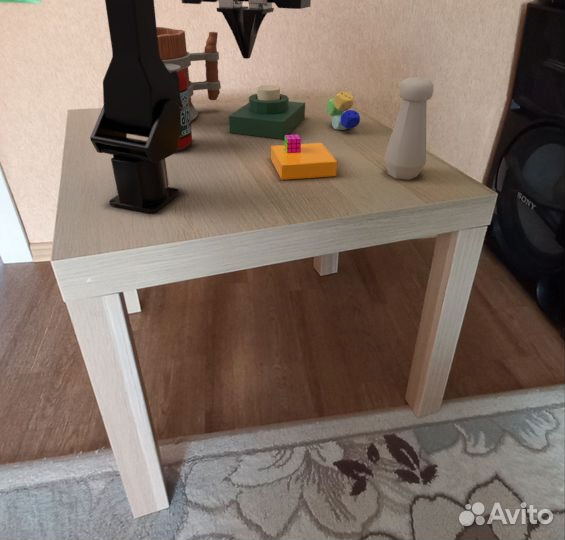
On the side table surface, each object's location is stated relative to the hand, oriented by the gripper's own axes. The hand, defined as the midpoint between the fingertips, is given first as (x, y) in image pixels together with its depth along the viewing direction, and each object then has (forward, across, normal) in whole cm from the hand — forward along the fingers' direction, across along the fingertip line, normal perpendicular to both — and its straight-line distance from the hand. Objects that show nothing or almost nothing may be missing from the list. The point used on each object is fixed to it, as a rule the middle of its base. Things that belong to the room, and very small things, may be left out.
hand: (246, 58), depth 74 cm
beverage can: (+13, +10, +9) cm, 18 cm away
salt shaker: (+13, -27, +8) cm, 31 cm away
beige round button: (+8, -1, -7) cm, 11 cm away
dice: (+12, -14, -10) cm, 22 cm away
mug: (+13, +18, -6) cm, 23 cm away
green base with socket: (+12, -1, -7) cm, 14 cm away
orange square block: (+13, -13, +10) cm, 21 cm away
